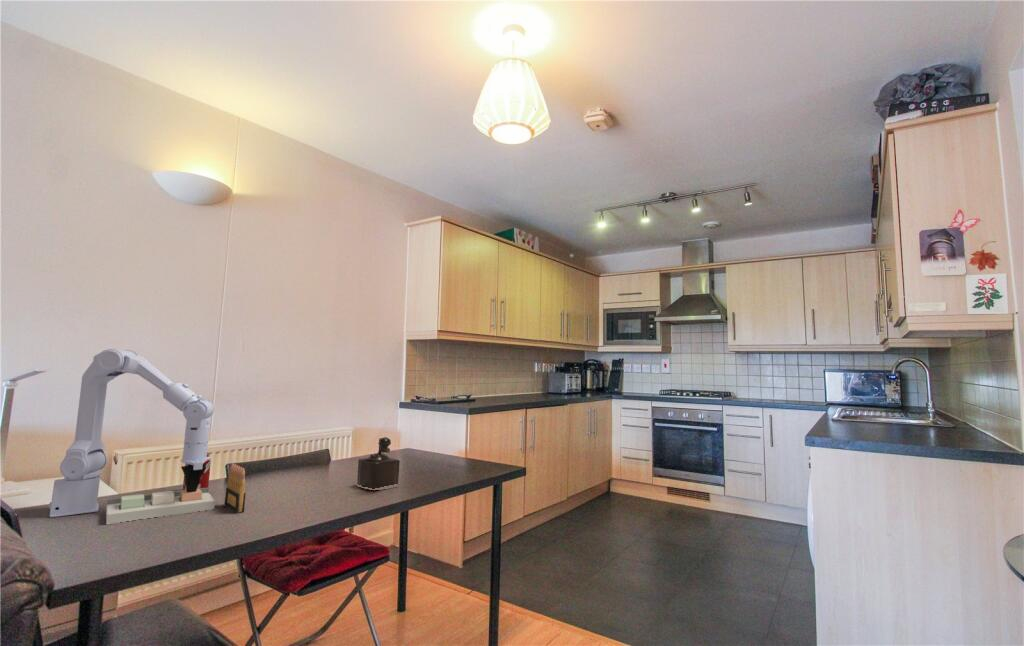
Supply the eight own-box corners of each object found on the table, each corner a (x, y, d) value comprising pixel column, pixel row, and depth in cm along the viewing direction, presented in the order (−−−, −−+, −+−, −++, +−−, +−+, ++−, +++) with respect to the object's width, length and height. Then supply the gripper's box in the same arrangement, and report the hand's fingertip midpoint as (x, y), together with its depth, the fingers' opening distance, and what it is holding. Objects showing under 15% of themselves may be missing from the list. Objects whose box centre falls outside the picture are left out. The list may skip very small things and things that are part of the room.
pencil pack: (244, 512, 131) (248, 467, 132) (236, 513, 129) (240, 468, 131) (231, 504, 138) (235, 462, 139) (224, 505, 137) (228, 462, 138)
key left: (120, 513, 122) (122, 500, 122) (119, 508, 125) (121, 496, 126) (143, 510, 125) (144, 497, 125) (141, 506, 128) (143, 493, 129)
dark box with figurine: (354, 486, 162) (357, 433, 164) (381, 482, 171) (384, 431, 173) (379, 495, 152) (383, 438, 154) (408, 489, 161) (410, 436, 163)
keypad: (106, 524, 117) (108, 509, 118) (105, 513, 126) (107, 499, 127) (214, 509, 132) (215, 496, 133) (206, 499, 141) (208, 487, 142)
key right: (181, 506, 130) (182, 494, 131) (179, 502, 134) (180, 491, 134) (201, 503, 133) (202, 492, 134) (198, 500, 137) (199, 488, 137)
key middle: (152, 508, 126) (153, 496, 126) (150, 504, 130) (151, 492, 130) (173, 506, 129) (174, 494, 130) (171, 502, 133) (172, 490, 133)
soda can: (198, 496, 145) (202, 456, 146) (176, 495, 145) (180, 455, 146) (212, 490, 152) (216, 452, 153) (192, 489, 152) (195, 451, 153)
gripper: (217, 445, 133) (212, 495, 131) (208, 438, 143) (203, 484, 142) (186, 447, 128) (181, 498, 126) (179, 440, 139) (175, 487, 137)
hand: (191, 491), depth 134 cm, fingers closed, pressing on key right
